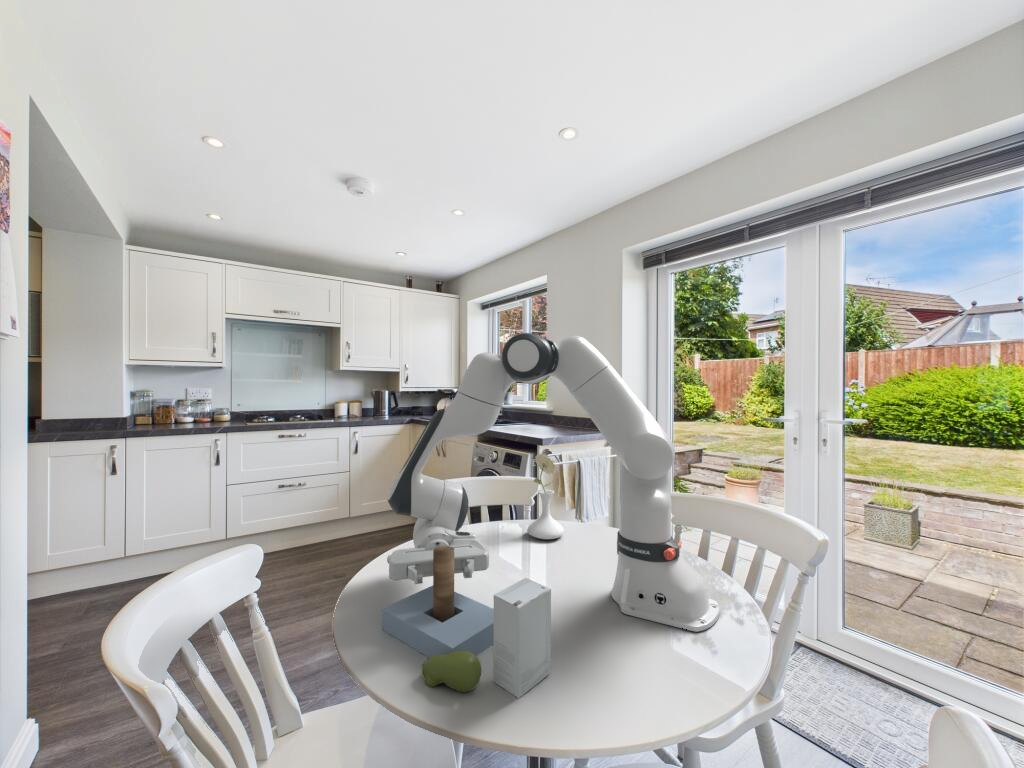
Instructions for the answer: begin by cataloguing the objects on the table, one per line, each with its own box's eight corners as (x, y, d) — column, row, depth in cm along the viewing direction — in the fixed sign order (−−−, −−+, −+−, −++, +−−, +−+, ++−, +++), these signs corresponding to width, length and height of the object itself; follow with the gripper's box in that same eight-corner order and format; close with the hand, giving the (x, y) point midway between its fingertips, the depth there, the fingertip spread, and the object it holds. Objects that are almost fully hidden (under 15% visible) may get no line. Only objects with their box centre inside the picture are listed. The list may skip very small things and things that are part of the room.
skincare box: (525, 659, 80) (526, 575, 80) (552, 675, 76) (553, 586, 76) (490, 683, 74) (491, 592, 74) (518, 701, 70) (519, 605, 70)
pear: (469, 666, 70) (413, 662, 73) (475, 701, 70) (418, 696, 73) (484, 645, 75) (431, 643, 78) (489, 678, 75) (435, 674, 78)
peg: (458, 631, 89) (458, 549, 89) (442, 640, 86) (443, 555, 85) (444, 624, 91) (444, 544, 91) (428, 632, 88) (428, 550, 88)
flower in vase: (571, 540, 138) (571, 457, 137) (536, 545, 134) (537, 459, 133) (551, 526, 150) (552, 450, 150) (519, 530, 146) (519, 452, 145)
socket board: (506, 635, 88) (506, 614, 88) (452, 671, 77) (452, 648, 77) (436, 601, 100) (436, 583, 100) (381, 629, 90) (381, 608, 89)
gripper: (386, 540, 98) (387, 566, 85) (480, 531, 104) (495, 555, 90) (386, 569, 98) (387, 600, 85) (480, 559, 104) (495, 587, 90)
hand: (443, 577), depth 88 cm, fingers open, 8 cm apart
